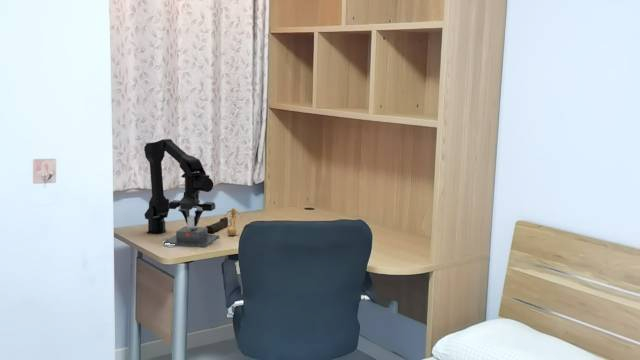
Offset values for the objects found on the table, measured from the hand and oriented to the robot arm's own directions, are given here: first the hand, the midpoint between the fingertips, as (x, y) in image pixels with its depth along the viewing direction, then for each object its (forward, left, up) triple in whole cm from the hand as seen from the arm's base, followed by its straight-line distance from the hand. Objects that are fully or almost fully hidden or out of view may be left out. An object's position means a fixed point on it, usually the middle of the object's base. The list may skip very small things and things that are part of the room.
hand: (192, 225), depth 297 cm
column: (0, 0, -5) cm, 5 cm away
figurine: (+13, +15, -7) cm, 21 cm away
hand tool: (+3, +24, -7) cm, 25 cm away
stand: (0, 0, -6) cm, 6 cm away
